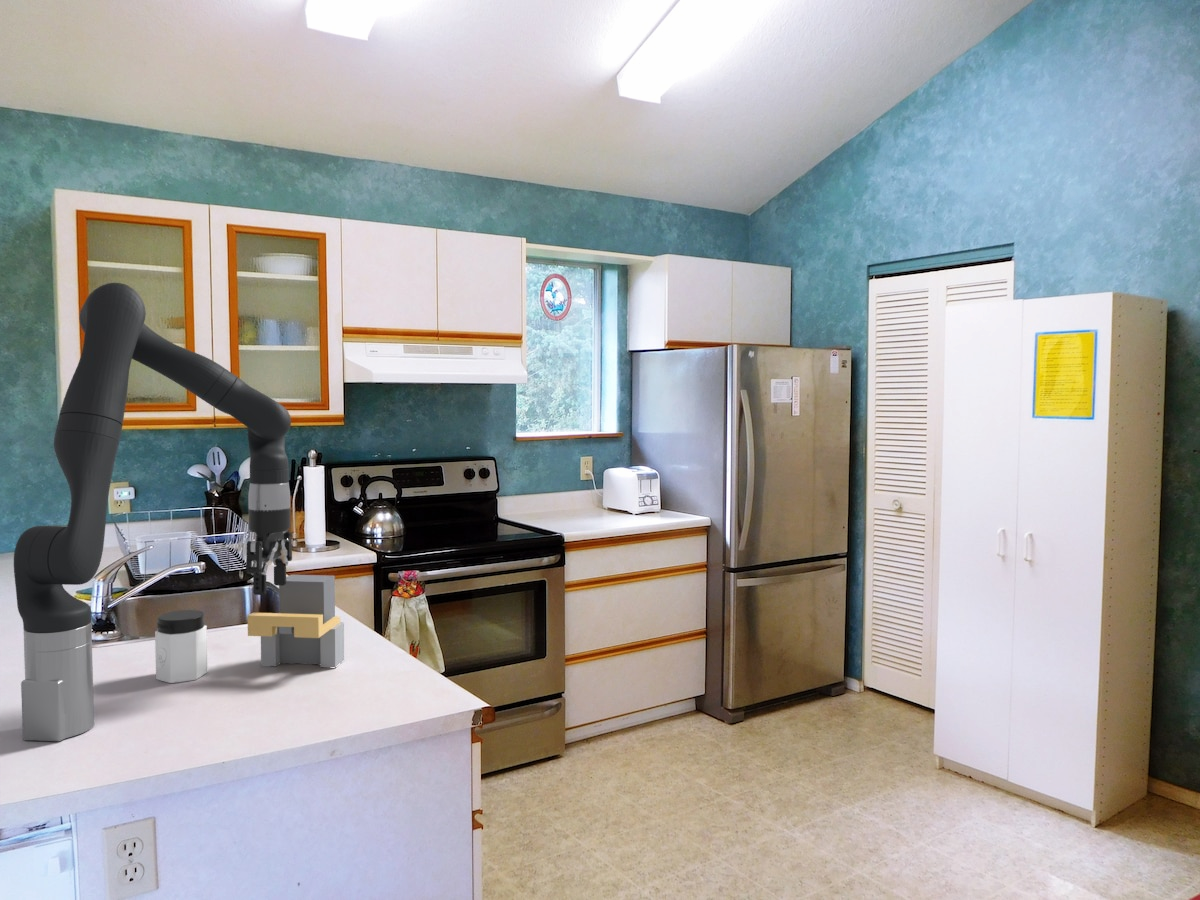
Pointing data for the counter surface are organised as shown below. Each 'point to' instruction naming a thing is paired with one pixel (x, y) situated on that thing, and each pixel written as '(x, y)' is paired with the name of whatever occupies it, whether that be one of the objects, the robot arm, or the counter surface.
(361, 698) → the counter surface
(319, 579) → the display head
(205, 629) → the jar
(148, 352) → the robot arm
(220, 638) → the counter surface
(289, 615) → the tan u-shaped bracket
